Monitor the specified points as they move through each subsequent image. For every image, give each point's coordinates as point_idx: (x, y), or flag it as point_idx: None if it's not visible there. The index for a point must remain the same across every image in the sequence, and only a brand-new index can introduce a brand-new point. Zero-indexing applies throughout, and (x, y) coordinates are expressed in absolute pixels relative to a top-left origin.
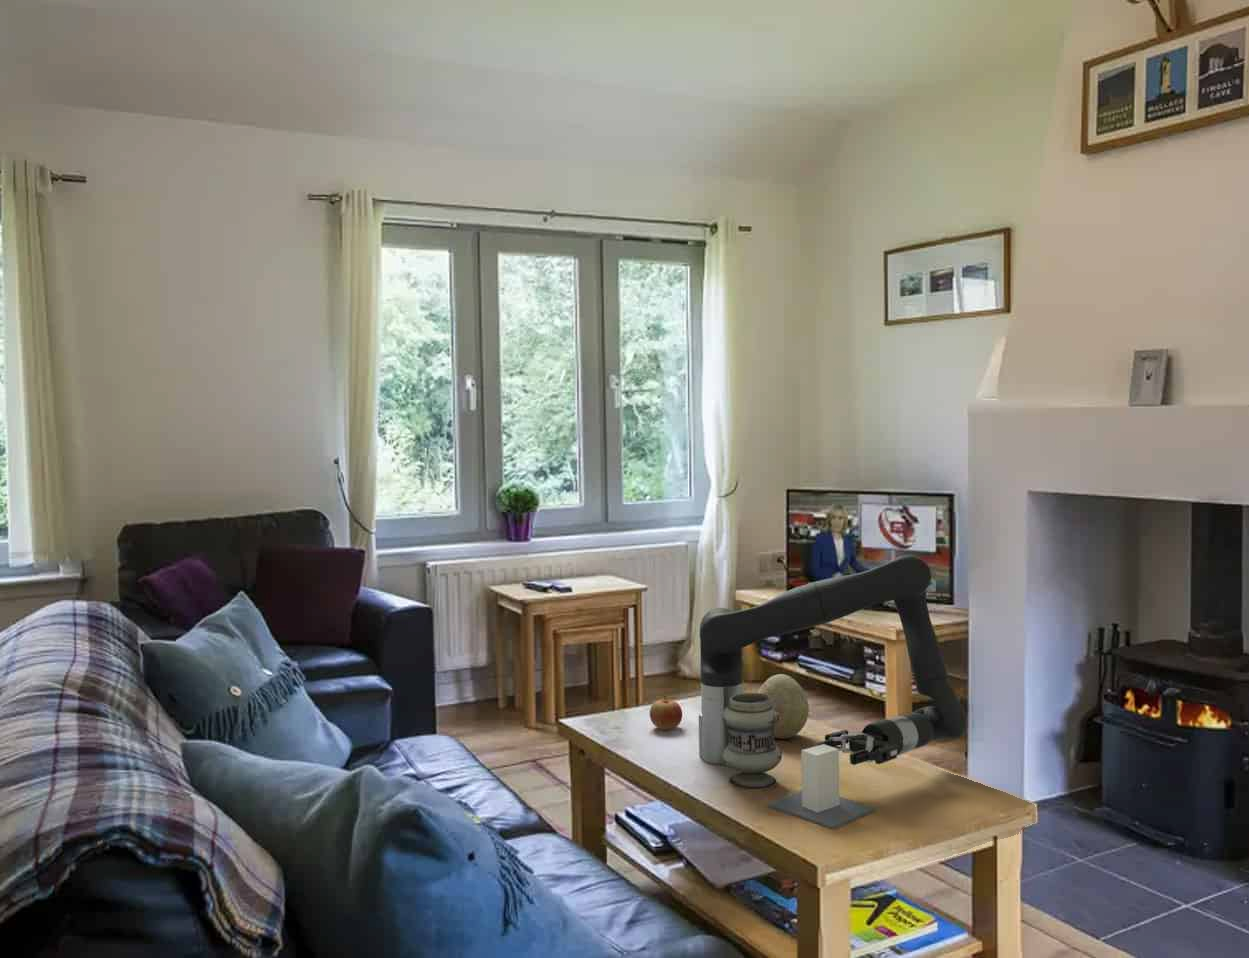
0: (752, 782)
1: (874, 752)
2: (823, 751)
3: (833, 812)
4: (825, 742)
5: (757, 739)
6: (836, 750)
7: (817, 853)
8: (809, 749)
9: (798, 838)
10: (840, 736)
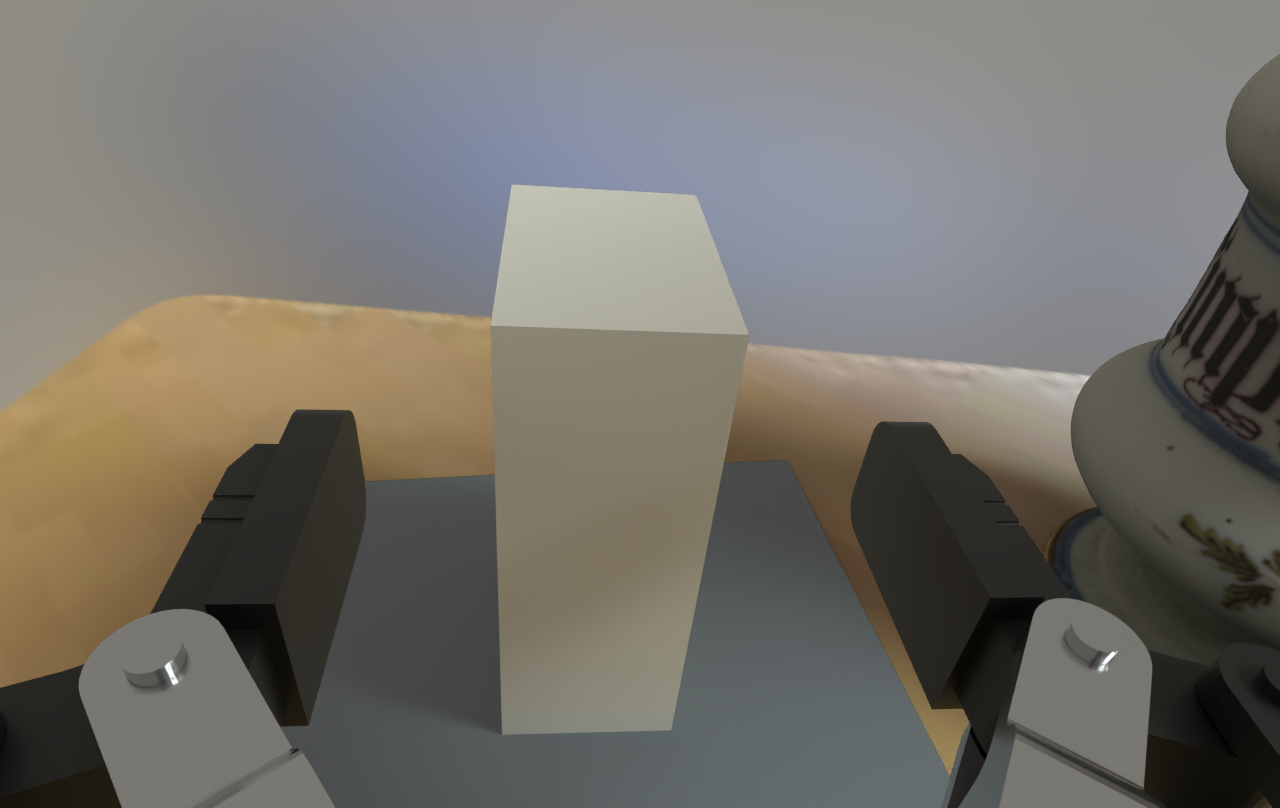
0: (1106, 539)
1: (31, 736)
2: (548, 239)
3: (437, 608)
4: (921, 481)
5: (1217, 273)
6: (494, 316)
7: (228, 330)
8: (675, 221)
9: (385, 362)
10: (1139, 792)
